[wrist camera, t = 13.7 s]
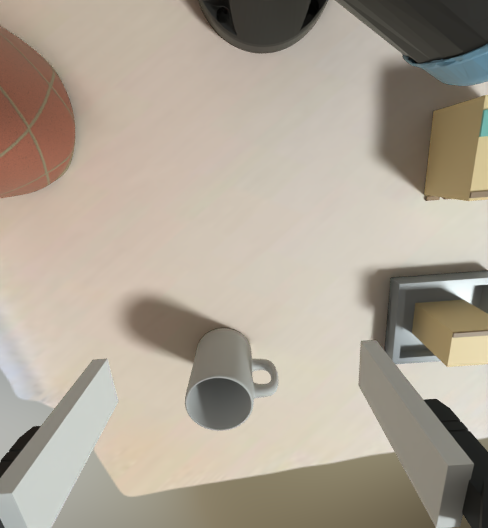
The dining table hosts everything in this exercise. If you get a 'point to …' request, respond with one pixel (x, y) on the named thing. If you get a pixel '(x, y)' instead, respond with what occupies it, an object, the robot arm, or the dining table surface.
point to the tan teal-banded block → (459, 152)
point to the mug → (225, 381)
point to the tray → (426, 290)
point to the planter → (31, 120)
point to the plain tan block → (453, 331)
